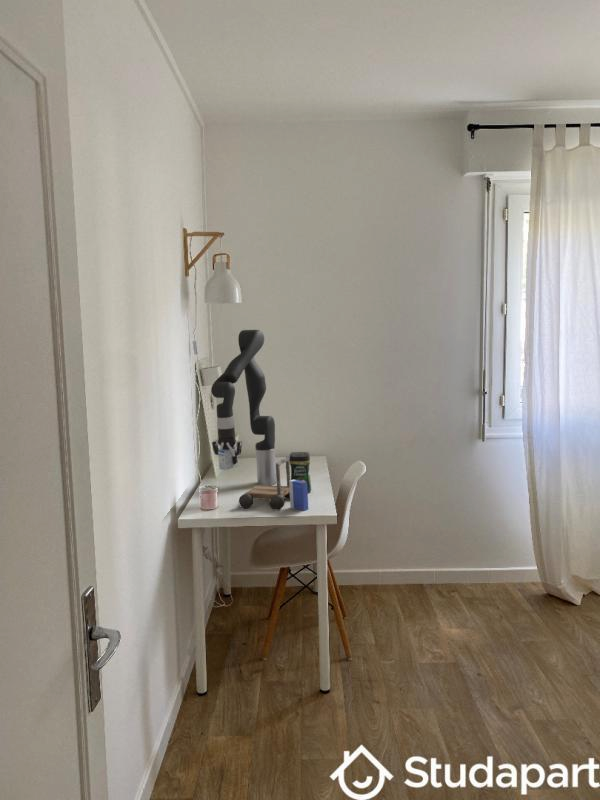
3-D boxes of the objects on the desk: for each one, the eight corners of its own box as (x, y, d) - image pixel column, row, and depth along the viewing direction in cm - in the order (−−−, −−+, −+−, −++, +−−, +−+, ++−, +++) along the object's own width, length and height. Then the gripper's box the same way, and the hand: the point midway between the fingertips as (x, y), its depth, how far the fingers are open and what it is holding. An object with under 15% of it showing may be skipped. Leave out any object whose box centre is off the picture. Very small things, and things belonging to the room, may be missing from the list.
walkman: (308, 509, 270) (307, 480, 269) (303, 510, 268) (302, 482, 267) (294, 506, 275) (293, 478, 274) (290, 507, 273) (288, 479, 272)
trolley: (255, 496, 294) (253, 455, 291) (297, 498, 287) (295, 455, 285) (239, 508, 277) (236, 463, 275) (283, 510, 270) (280, 464, 268)
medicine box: (231, 465, 295) (230, 446, 294) (238, 466, 292) (237, 447, 291) (219, 469, 289) (217, 450, 288) (226, 470, 286) (224, 451, 285)
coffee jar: (289, 494, 295) (287, 454, 293) (292, 489, 303) (289, 450, 301) (310, 494, 294) (308, 453, 291) (312, 489, 301) (310, 450, 299)
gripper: (244, 425, 290) (246, 462, 292) (215, 425, 294) (217, 461, 297) (237, 428, 283) (239, 466, 285) (207, 428, 287) (210, 465, 289)
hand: (228, 463), depth 291 cm, fingers closed on medicine box, 5 cm apart
